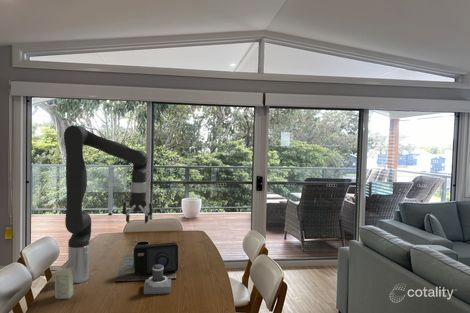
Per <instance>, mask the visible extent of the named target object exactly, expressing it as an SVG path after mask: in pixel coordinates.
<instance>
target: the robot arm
mask: <svg viewBox="0 0 470 313" xmlns="http://www.w3.org/2000/svg"><path fill="white" fill-rule="evenodd" d="M63 139H64V146H65V147H64V149H65V155H66V156H65V188H66V190H65V191H66V193H65V194H66V210H65V219H64V220H65V222H64V225H65V228H66V230H67V231H68V232H69V234H71V236H70V238H69V239H68V245H67V246H68V248H67V253H68V255H67V256H68V258H67V259H68V261H67V262H66V268H73V284H80V283H84V282H86V281H88V280H89V277H90V276H89V275H90V269H89V268H90V240H91V237H92V218H91V215H90V214H89V213H88V212H87V211H83V202H84V201H83V200H84V197H85V194H86V191H87V188H88V172H87V167H86V163H85V159H84V154H83V153H84V149H83V147H84V146H85V147H86V146H87V147H90V148H94V149H96V150H99V151H101V152H102V153H104V154H106V155H109V156H113V157H115V158H118V159H120V160H124V161H126V162H128V163H130V164H132V166H133V167H132V172H131V183H130V193H129V194H130V197H129V201H124V202H123V204H122V212H121V213H122V215H125V222H126V223H127V224H129V223H130V216H131V215H130V214H131V213H132V211H133V212H142V213H143V215H144V224H147V223H148V221H149V216H152V214H153V203H152V202H151V201H150V202H147V168H148V166H147V165H148V155H147V153H146V152H145V151H143V150H137V149H134V148H131V147H129V146H127V145H125V144H123V143H120V142H117V141H114V140H111V139H109V138H108V139H107V138H105V137H103V136H99V135H97V134H95V133H93V132H91V131H89V130H87V129H86V128H84V127H83V126H81V125H69V126H67V128H65V130H64V131H63ZM128 206H129V207H130V209H128V211H127V207H128ZM145 207H148V208H149V209H148V211H147V209H146V208H145Z"/></svg>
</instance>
